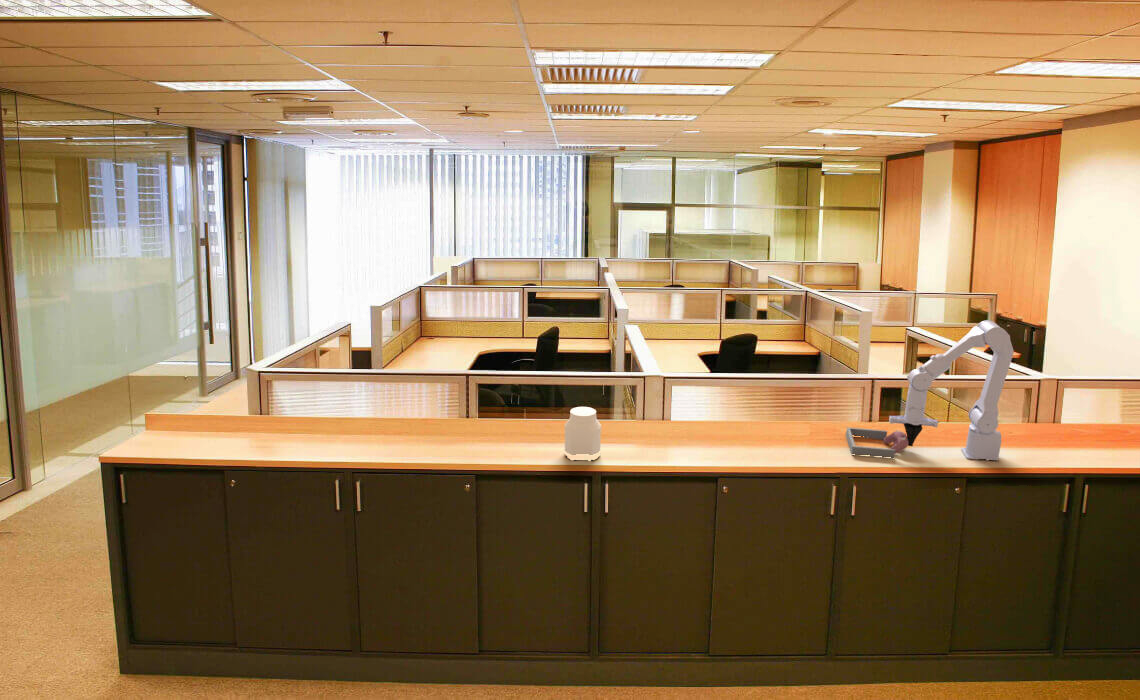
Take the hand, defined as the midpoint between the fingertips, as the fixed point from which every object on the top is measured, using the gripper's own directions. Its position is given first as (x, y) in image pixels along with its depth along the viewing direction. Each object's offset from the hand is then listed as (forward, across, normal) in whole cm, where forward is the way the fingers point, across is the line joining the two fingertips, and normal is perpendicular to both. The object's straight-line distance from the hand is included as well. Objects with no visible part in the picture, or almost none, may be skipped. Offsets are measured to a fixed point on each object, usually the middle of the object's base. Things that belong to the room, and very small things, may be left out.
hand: (909, 445), depth 267 cm
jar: (+2, -104, -28) cm, 108 cm away
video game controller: (+2, -4, 0) cm, 5 cm away
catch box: (+2, -12, 0) cm, 13 cm away
